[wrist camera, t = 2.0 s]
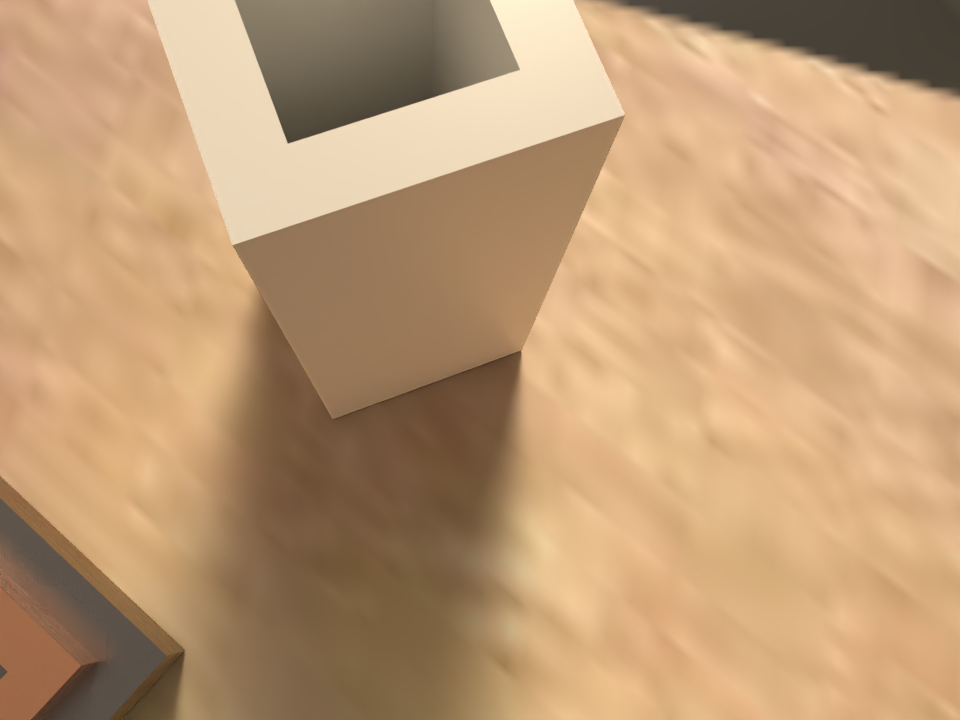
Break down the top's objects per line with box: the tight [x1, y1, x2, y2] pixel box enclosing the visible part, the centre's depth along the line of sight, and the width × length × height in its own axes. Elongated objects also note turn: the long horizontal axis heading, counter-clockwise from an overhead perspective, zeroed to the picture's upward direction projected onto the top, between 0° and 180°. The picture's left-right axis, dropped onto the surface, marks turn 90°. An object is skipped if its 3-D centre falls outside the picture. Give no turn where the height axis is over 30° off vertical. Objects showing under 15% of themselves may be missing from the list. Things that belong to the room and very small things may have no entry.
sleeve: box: [148, 0, 625, 419], centre depth 17 cm, size 5×5×12 cm
